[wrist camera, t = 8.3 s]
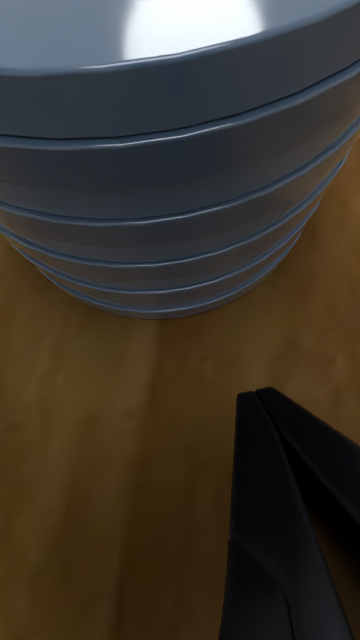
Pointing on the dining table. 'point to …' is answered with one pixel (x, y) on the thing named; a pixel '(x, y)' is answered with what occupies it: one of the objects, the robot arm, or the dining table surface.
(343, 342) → the dining table surface
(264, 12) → the plate stack
